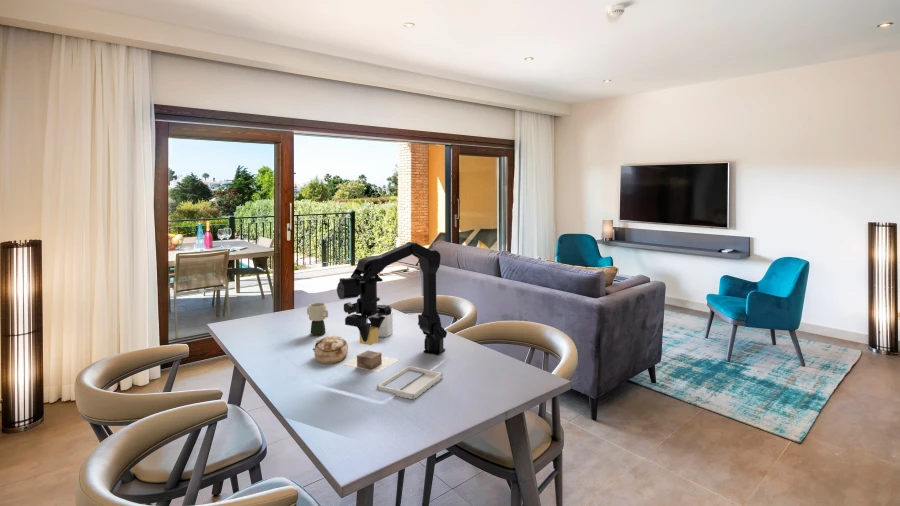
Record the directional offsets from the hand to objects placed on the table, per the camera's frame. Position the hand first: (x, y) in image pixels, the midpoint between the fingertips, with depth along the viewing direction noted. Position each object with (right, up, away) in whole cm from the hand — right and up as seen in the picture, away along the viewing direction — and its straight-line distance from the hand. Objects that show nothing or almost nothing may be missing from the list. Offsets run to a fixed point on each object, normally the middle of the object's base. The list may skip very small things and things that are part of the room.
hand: (369, 339), depth 158 cm
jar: (-1, -5, +39) cm, 39 cm away
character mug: (-28, -5, +38) cm, 48 cm away
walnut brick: (0, -9, +1) cm, 9 cm away
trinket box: (-15, -9, +10) cm, 21 cm away
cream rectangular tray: (+15, -12, -12) cm, 23 cm away
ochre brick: (0, -1, 0) cm, 1 cm away
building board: (0, -10, +5) cm, 11 cm away
